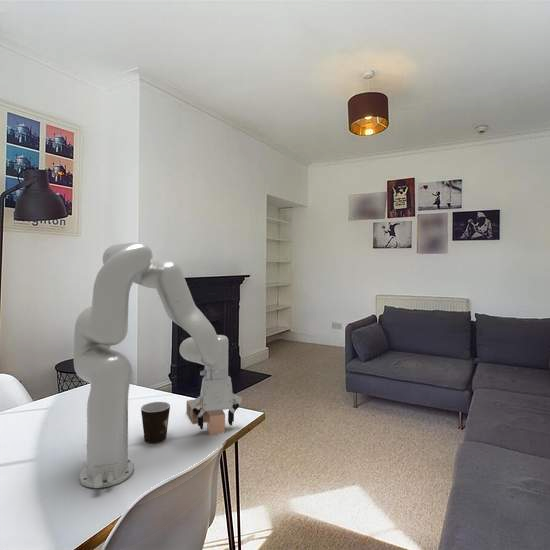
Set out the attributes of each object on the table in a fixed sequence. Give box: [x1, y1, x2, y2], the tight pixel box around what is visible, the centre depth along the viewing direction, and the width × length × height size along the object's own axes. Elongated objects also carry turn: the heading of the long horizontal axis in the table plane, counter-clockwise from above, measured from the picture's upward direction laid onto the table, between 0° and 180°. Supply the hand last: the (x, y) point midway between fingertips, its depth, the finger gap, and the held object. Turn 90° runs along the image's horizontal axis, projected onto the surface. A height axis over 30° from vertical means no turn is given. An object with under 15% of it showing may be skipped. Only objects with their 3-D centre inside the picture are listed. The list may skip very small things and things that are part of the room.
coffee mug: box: [140, 401, 171, 445], centre depth 113 cm, size 12×9×10 cm
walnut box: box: [185, 399, 207, 425], centre depth 132 cm, size 10×10×5 cm
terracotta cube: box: [206, 410, 226, 436], centre depth 120 cm, size 5×5×6 cm
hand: (215, 425), depth 120 cm, fingers open, 9 cm apart
